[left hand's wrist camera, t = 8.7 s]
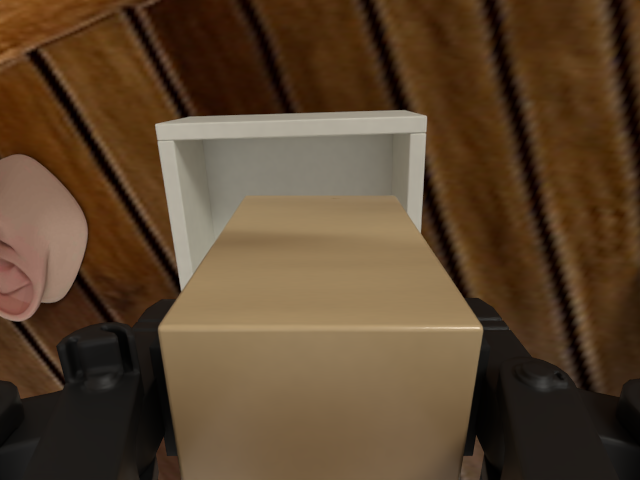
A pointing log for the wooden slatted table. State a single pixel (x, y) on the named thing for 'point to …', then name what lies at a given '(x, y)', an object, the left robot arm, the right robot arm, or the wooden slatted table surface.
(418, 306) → the birch block
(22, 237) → the anatomical model
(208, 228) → the handled bin
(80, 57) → the wooden slatted table surface
